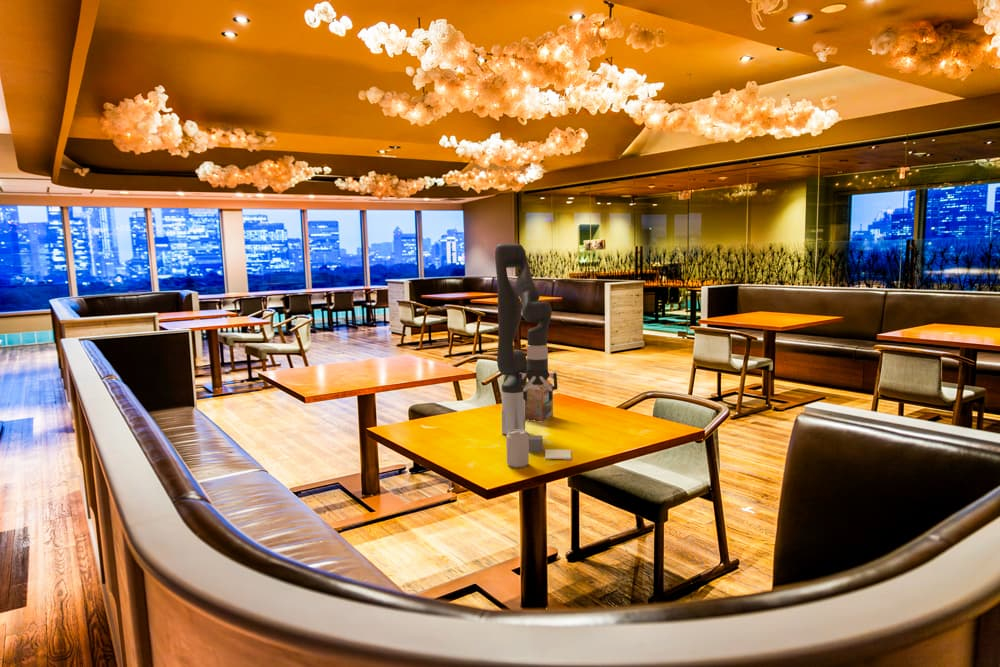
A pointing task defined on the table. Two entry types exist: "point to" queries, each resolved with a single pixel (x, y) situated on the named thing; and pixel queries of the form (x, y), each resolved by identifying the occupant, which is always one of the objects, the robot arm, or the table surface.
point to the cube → (535, 443)
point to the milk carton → (538, 403)
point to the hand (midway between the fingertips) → (537, 400)
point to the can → (517, 448)
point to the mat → (558, 454)
